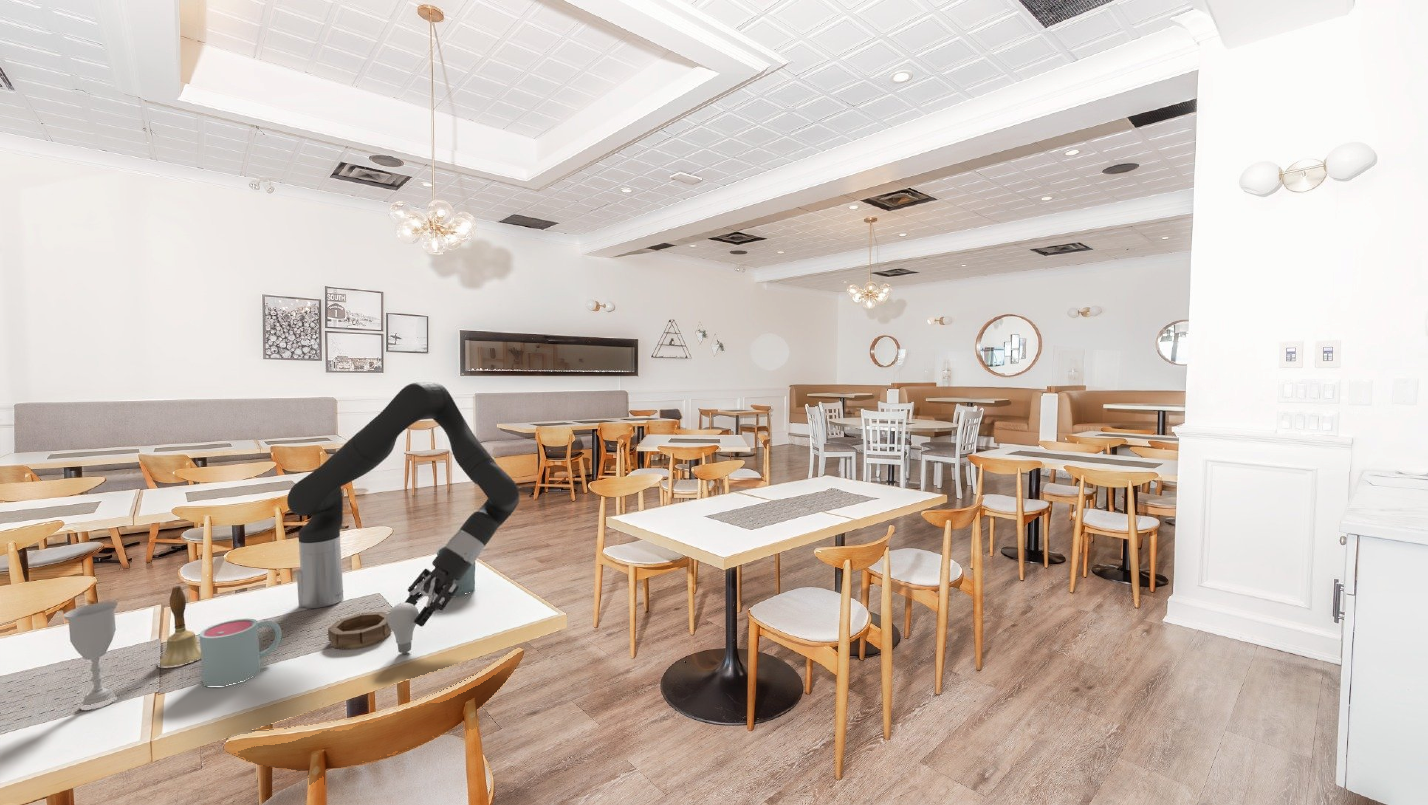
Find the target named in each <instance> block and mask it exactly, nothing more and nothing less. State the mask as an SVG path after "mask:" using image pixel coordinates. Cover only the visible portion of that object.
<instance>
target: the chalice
mask: <svg viewBox="0 0 1428 805" xmlns="http://www.w3.org/2000/svg"><path fill="white" fill-rule="evenodd" d="M117 606H118V602H117V601H104V602H103V601H101V602H97V603H92V604H87V605H83V606H79V607H76V608H74V609H71V610H69V611H66V612H65V613H64V614H63V617H64V618H65V619H66V620H67V621H68V629H69V639H70V640H69V641H70V643H71V645H72V646H73V648H74V649H75V650H76V652H77V653H78V654H79V655H80V656H81V657H82V658H83V659H84V660H88V661H89V660H90V661H91V667H90V669H89V671H90V672H91V673H92V677H91V678H90V679H89V681H90V682H92V683H93V688H92V690H91V691H89V692H87V693H86V695H85V696H84V697H83V701H82V702H81V705H82V704H83V705H91V704H94V703H99V702H102V701H105V700H108V699H110V698H111V697H113V696H114V695H115V692H113V690H112V689H111V688H110V687H104V686H103V685H102V683H101V682H102V679H103V678H104V677H105V676H104V675H102V674H101V671H102V670H101V669H102V668H103V666H102V665H101V663H100V658H101V657H102V656H104V655H106V653H107V652H108V650H109V647H110V646H111V644H112V642H113V639H114V637H115V633H116V630H117V628H116V618H115V617H116V616H115V615H116V614H115V611H116V608H117Z"/></svg>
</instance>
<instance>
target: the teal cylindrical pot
mask: <svg viewBox="0 0 1428 805" xmlns="http://www.w3.org/2000/svg"><path fill="white" fill-rule="evenodd" d="M444 547H445V546H442V547H441V548H438V549H437V551H436V556H437V555H438V554H439V553H440V552H441V550H442V549H443V548H444ZM475 578H476V561H475V562H474V563H473V565H472V566H471V567H470V569H469V570H468V571H467V573H466V574H465V575H464V577H463V578H462V579H461V580H460V581H457V580H455V579H454V581H453V583H455V584H456V585H457V586H459V588H458V590H457V591H456V593H455V594H454V595H453V596H456V597H461V596H460V595H462V596H464V595H463V594H465V593H469V592H471V591H472V590H474V591H475V589H476V587H475V586H476V579H475ZM471 593H472V592H471ZM469 594H470V593H469Z"/></svg>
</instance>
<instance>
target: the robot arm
mask: <svg viewBox="0 0 1428 805" xmlns="http://www.w3.org/2000/svg"><path fill="white" fill-rule="evenodd" d="M421 420H422V421H423V420H433V421H434V422H436V423H437V424H438V425H439V426H440V427H441V429H442V430H443V431H444V432H445V435H446V436H447V437H448V440H449V444H450V445H449V446H450V448H451V452H452V455H453V458H454V460H455V461H456V463H457V465H459V467H460V468H461V469H462V471H464V473H465V474H466V476H467V477H468V478H469V480H470V481H472V482H473V483H474V484H476V485H477V486H478V487H479V488H480V490H481V491H482V493H484V494H485V496H486V497H487V500H485V502H484V503H483V504H482V506H480V508H479V509H478V510H477V511H475V512H473V513H472V514H471V515H469V517H468V518H467V519H466V520H465V522H464V523H463V524H462V525H461V526H460V528H459V530H457V532H456V533H454V534H453V536H452V537H451V538H450V539H449V540H448V541H447V543H445V545H444V546H443V547H444V548H443V549H442V550H441V552H440V553H439V554H438V555H437V554H436V557H435V558H434V559H433V560H432V564H431V565H432V566H433V567H434V569H433V570H432V571H431V570H429V569H428V568H424V569H423V571H422V572H421V573H420V574H419V575H418V576H417V577H416V579H415V580H414V581H413V582H412V583H411V585H410V586H409V587H408V589H407V592H408V597H407V599H406V600H405V601H404V602H403V603H410V604H413V605H414V606H415V607H416V605H417V604H418V602H419V601H420V600H422V599H423V598H425V597H428V599H427V602H426V606H425V605H424V607H423V608H422V609H421V610H420V612H419V615H418V616H417V617H416V619H415V620H414V623H416V626H417V625H418V626H419V627H421V628H422V627H424V626H425V624H426V623H427V622H428V621H429V619H430V618H431V617H432V616H433V614H434V613H435V612H438V611H439V612H442V611H444V610H445V608H446V607H447V606H448V604H449V602H450V601H451V599H452V598H453V595H454V594H455V593H456V591H457V590H458V588H459V586H457V585H456V584H455V583H453V581H454V579H455V580H457V581H460V580H461V579H462V578H463V577H464V575H465V574H466V573H467V571H468V570H469V569H470V567H471V566H472V565H473V563H474V562H475V563H476V561H477V559H478V558H479V557H480V555H481V553H482V551H483V550H484V548H485V547H486V545H487V544H488V543H489V542H490V540H491V539H492V537H493V536H494V535H495V532H497V530H498V528H500V527H501V526H502V525H503V524H504V522H506V521H507V520H508V518H509V517H510V516H511V515H512V514H513V513H514V512H515V510H516V509H517V507H518V505H519V503H520V490H519V487H518V485H517V483H515V481H514V479H512V478H511V477H510V475H509V474H507V473H506V471H504V470H503V469H502V468H501V467H500V466H499V465H498V464H497V462H496V460H494V458H493V457H492V456H491V454H489V452H488V451H487V450H486V448H485V447H484V446H483V445H482V443H481V442H480V441H479V440H478V439H477V437H476V436H475V434H474V433H473V431H472V430H471V428H470V426H469V425H468V423H467V421H466V420H465V417H464V416H463V414H462V412H461V411H460V409H459V407H458V405H457V403H456V402H455V400H454V398H453V397H452V395H451V394H450V392H449V391H448V389H447V388H446V387H445V386H444V385H442V384H440V383H438V382H425V381H424V382H413V383H410V384H409V383H408V384H407V385H405V386H404V387H403V388H402V389H401V390H400V391H399V392H398V393H397V394H396V395H395V396H394V397H393V399H392V400H391V401H390V402H389V403H388V404H387V405H386V406H385V408H384V409H382V411H381V412H380V413H379V414H378V415H376V416H375V417H374V418H373V419H371V420H370V421H369V422H368V423H367V424H366V425H365V426H364V427H363V428H361V429H360V430H359V431H358V432H357V433H356V434H354V435H353V436H352V437H351V438H349V439H348V440H347V442H345V443H344V445H342V446H341V447H340V448H339V449H338V450H336V452H334V453H333V454H332V455H331V456H330V457H329V458H328V459H327V460H325V461H324V462H323V464H321V465H320V466H319V467H318V468H316V469H315V470H313V471H312V472H311V473H309V474H308V475H306V476H305V477H303V478H302V479H300V480H299V481H297V482H296V483H294V485H293V486H292V487H291V489H290V490H289V492H288V494H287V499H286V502H287V503H286V504H287V507H288V509H289V511H291V512H292V514H294V515H297V516H301V517H304V516H305V517H308V516H311V517H310V519H309V521H308V522H306V524H305V525H304V526H302V527H301V528H300V529H299V531H298V538H297V539H298V550H299V552H298V554H299V565H300V566H299V567H300V568H299V569H298V570H297V571H296V581H297V596H298V597H297V599H298V608H307V609H317V608H323V607H330V606H333V605H335V604H338V603H339V602H341V601H343V599H344V584H343V582H344V581H343V568H342V567H343V566H342V565H343V564H342V548H341V547H342V546H341V528H342V526H343V519H344V518H343V517H344V516H343V514H344V513H343V511H344V510H343V509H344V505H343V503H344V499H343V498H344V497H343V489H342V487H343V486H344V485H347V484H350V483H351V482H352V481H355V480H357V479H359V478H360V477H363V476H364V475H367V474H368V473H370V472H371V471H372V470H374V469H375V468H377V467H378V466H379V465H380V464H381V463H382V462H383V461H385V460H386V459H387V458H388V457H389V456H390V454H392V452H393V450H394V449H395V448H394V447H395V446H396V442H397V439H398V437H400V435H401V434H402V433H403V432H404V431H406V430H407V429H408V428H409V427H410V426H412V425H414V424H415V423H417V422H420V421H421Z"/></svg>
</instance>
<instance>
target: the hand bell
mask: <svg viewBox="0 0 1428 805" xmlns="http://www.w3.org/2000/svg"><path fill="white" fill-rule="evenodd" d="M186 604H187V599H186V595H185V593H184V591H183V589H182V587H181V586H180V585H177V586H173V587H172V590H171V593H170V596H169V607H170V611H171V613H172V615H173V618H174V633H173V634H171V635H170V636H169V637H168V638H167V639H166V640H167V641H166V649H165V652H164V654H163V656H162V657H161V659H159V661H160V664H161V665H163V666H174V665H180V664H185V663H189V662H190V661H195V660H197V659H199V658H201V648H200V644H199V642H198V641H197V637H196V633H195V632H194V631H193V630H187V629H186V622H185V621H186V620H185V610H186V606H187V605H186Z"/></svg>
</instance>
